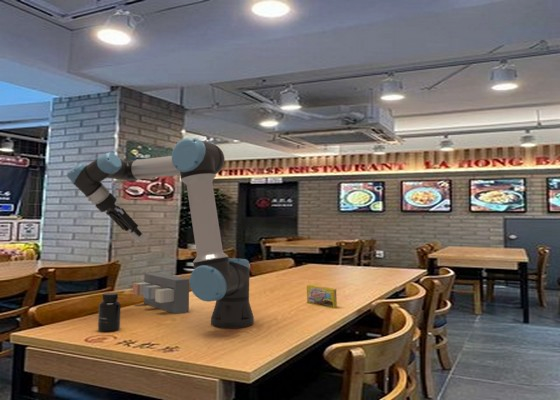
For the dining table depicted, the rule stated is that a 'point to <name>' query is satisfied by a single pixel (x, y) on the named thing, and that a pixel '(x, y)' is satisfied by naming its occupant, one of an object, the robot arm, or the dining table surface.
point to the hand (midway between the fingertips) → (142, 240)
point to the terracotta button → (139, 288)
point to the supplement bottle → (109, 313)
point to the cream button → (164, 295)
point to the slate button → (151, 291)
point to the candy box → (321, 296)
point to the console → (180, 292)
